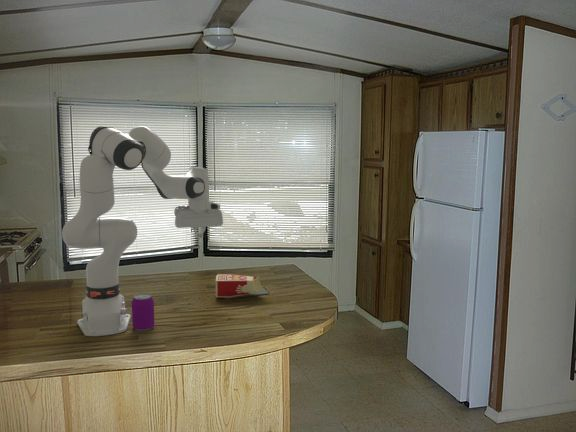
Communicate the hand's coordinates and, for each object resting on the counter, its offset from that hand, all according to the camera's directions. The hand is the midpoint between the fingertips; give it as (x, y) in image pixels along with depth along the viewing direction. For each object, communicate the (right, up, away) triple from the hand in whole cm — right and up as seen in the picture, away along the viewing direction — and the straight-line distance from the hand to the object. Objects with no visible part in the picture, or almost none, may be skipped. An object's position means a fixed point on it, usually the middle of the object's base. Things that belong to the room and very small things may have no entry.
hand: (199, 237), depth 224 cm
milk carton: (+7, -21, +3) cm, 22 cm away
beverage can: (-14, -32, -35) cm, 49 cm away
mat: (+18, -25, +10) cm, 32 cm away
